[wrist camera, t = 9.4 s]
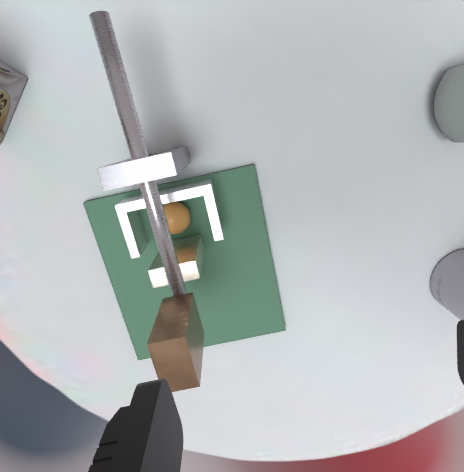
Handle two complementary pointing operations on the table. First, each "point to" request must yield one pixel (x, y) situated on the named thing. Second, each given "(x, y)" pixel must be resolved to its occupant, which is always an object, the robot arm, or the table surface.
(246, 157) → the table surface
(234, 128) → the table surface
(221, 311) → the pitch
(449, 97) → the air freshener
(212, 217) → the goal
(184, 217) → the ball
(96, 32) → the rod
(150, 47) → the table surface
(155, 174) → the rod support
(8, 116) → the coffee box
